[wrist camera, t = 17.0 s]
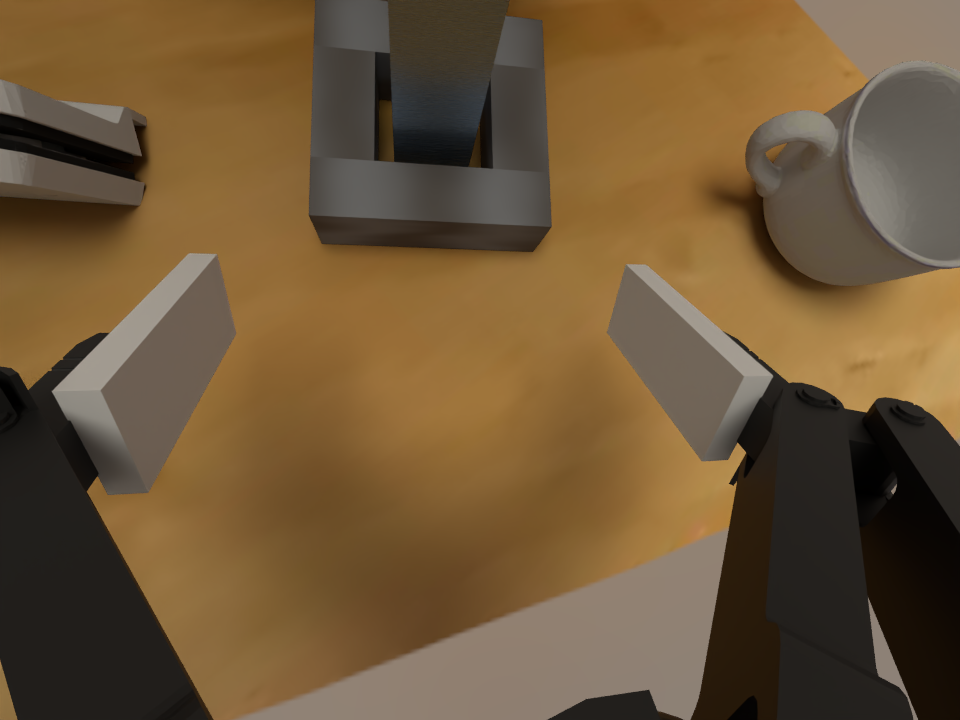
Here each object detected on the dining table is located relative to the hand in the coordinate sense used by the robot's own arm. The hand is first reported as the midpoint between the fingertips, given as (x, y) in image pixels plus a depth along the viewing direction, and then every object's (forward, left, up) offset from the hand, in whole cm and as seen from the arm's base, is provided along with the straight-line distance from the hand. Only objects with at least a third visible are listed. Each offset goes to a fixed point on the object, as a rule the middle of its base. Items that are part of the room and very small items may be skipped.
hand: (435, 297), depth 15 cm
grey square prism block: (-5, +11, -10) cm, 16 cm away
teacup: (+17, +20, -11) cm, 28 cm away
